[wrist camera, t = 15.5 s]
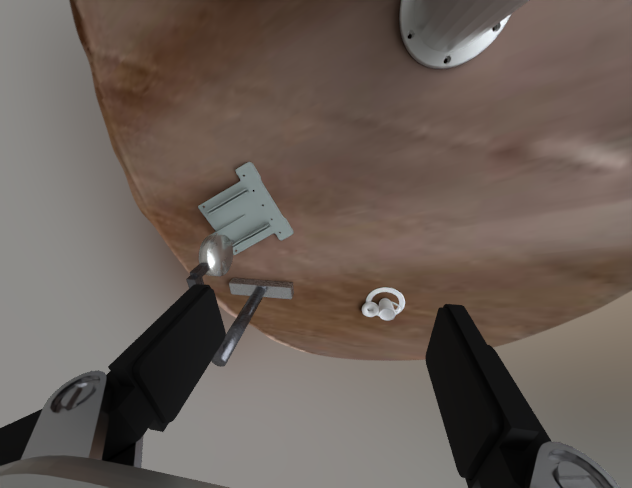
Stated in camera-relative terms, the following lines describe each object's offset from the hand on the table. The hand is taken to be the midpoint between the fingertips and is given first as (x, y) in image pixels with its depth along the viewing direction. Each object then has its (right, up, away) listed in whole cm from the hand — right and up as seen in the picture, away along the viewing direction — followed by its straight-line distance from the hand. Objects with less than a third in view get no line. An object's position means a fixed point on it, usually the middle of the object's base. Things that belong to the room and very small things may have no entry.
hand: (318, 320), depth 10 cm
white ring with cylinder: (+12, -7, +39) cm, 41 cm away
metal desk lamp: (-12, +1, +38) cm, 40 cm away
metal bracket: (-13, +9, +35) cm, 39 cm away
